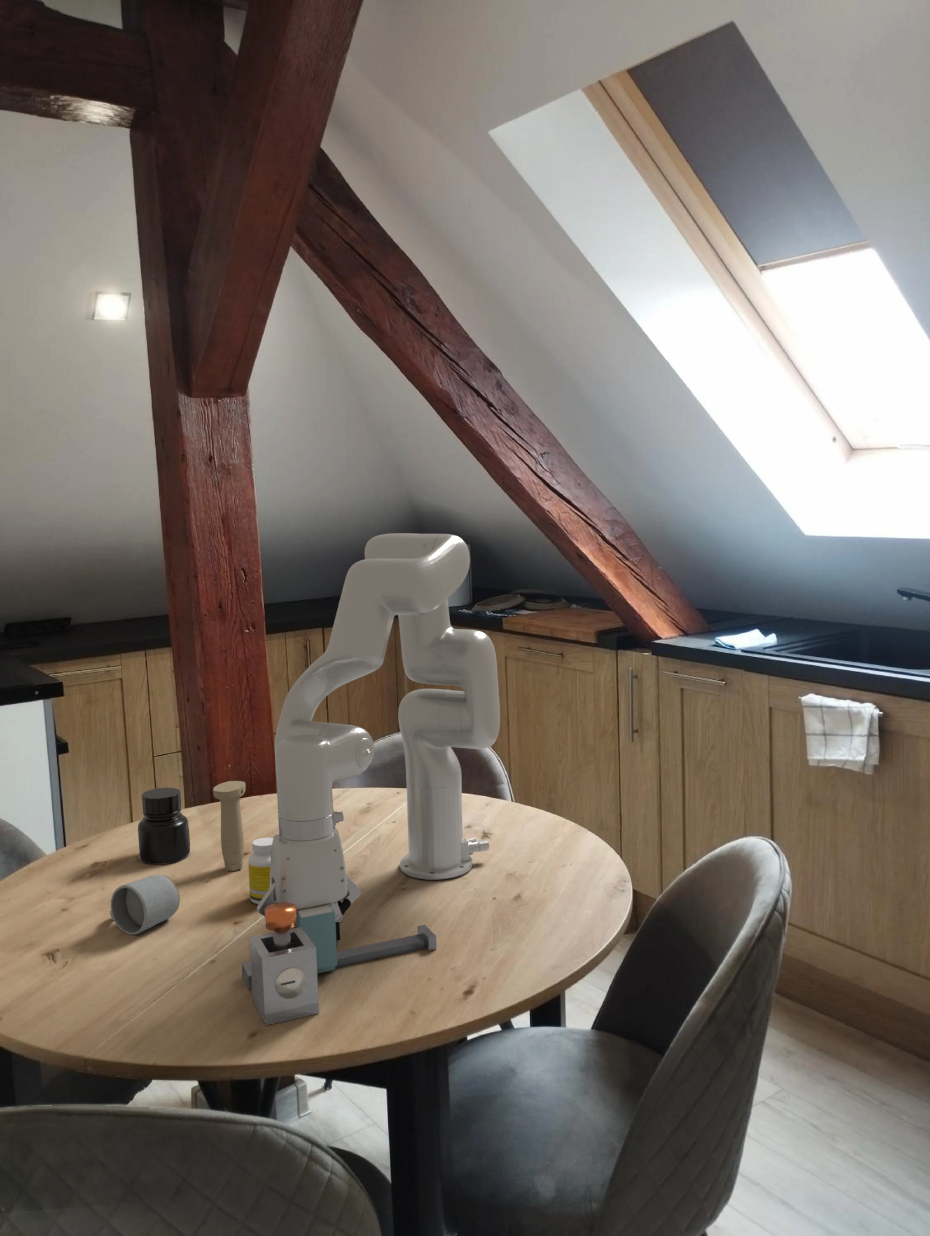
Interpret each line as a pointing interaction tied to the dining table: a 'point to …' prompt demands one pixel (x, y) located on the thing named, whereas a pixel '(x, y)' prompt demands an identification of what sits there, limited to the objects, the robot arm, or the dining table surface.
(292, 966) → the grey button box
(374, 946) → the rail
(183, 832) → the ink bottle
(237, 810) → the handle
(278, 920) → the plunger
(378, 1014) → the dining table surface
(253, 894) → the supplement bottle
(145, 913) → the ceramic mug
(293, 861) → the robot arm
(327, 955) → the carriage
